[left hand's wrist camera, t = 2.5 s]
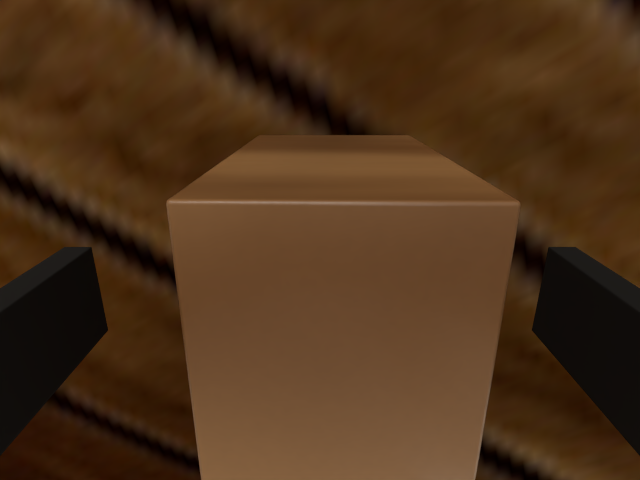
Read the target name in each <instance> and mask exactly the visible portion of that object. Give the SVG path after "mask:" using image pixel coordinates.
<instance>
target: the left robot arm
mask: <svg viewBox="0 0 640 480" xmlns="http://www.w3.org/2000/svg"><path fill="white" fill-rule="evenodd" d="M107 331H108V328H107V323H106V318H105V313H104V308H103V303H102V298H101V293H100V288H99V283H98V278H97V273H96V268H95V263H94V258H93V253H92V248H91V247H64V248H63V249H61V250H59V251H58V252H56V253H55V254H53V255H52V256H50V257H49V258H47V259H45V260H44V261H42V262H41V263H39V264H38V265H36V266H35V267H33V268H31V269H30V270H28V271H27V272H25V273H24V274H22V275H21V276H19V277H17V278H16V279H14V280H13V281H11V282H10V283H8V284H6V285H5V286H3V287H2V288H0V455H1V454H2V453H3V452H4V451H5V450H6V448H7V447H8V446H9V445H10V444H11V443H12V441H13V440H14V439H15V438H16V437H17V436H18V434H19V433H20V432H21V431H22V430H23V429H24V427H25V426H26V425H27V424H28V423H29V422H30V420H31V419H32V418H33V417H34V416H35V415H36V413H37V412H38V411H39V410H40V409H41V408H42V406H43V405H44V404H45V403H46V402H47V401H48V399H49V398H50V397H51V396H52V395H53V394H54V392H55V391H56V390H57V389H58V388H59V387H60V386H61V384H62V383H63V382H64V381H65V380H66V379H67V377H68V376H69V375H70V374H71V373H72V372H73V370H74V369H75V368H76V367H77V366H78V365H79V363H80V362H81V361H82V360H83V359H84V358H85V356H86V355H87V354H88V353H89V352H90V351H91V349H92V348H93V347H94V346H95V345H96V344H97V342H98V341H99V340H100V339H101V338H102V337H103V335H104V334H105V333H106V332H107ZM532 331H533V332H534V333H535V334H536V335H537V337H538V338H539V339H540V340H541V341H542V342H543V344H544V345H545V346H546V347H547V348H548V349H549V351H550V352H551V353H552V354H553V355H554V356H555V358H556V359H557V360H558V361H559V362H560V363H561V365H562V366H563V367H564V368H565V369H566V370H567V372H568V373H569V374H570V375H571V376H572V377H573V379H574V380H575V381H576V382H577V383H578V384H579V386H580V387H581V388H582V389H583V390H584V391H585V392H586V394H587V395H588V396H589V397H590V398H591V399H592V401H593V402H594V403H595V404H596V405H597V406H598V408H599V409H600V410H601V411H602V412H603V413H604V415H605V416H606V417H607V418H608V419H609V420H610V422H611V423H612V424H613V425H614V426H615V427H616V429H617V430H618V431H619V432H620V433H621V434H622V436H623V437H624V438H625V439H626V440H627V441H628V443H629V444H630V445H631V446H632V447H633V448H634V450H635V451H636V452H637V453H638V454H639V455H640V288H638V287H637V286H635V285H634V284H632V283H630V282H629V281H627V280H626V279H624V278H623V277H621V276H619V275H618V274H616V273H615V272H613V271H612V270H610V269H609V268H607V267H605V266H604V265H602V264H601V263H599V262H598V261H596V260H595V259H593V258H591V257H590V256H588V255H587V254H585V253H584V252H582V251H581V250H579V249H577V248H576V247H549V248H548V253H547V258H546V263H545V268H544V273H543V278H542V283H541V288H540V293H539V298H538V303H537V308H536V313H535V318H534V323H533V328H532Z"/></svg>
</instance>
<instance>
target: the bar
mask: <svg viewBox="0 0 640 480" xmlns="http://www.w3.org/2000/svg"><path fill="white" fill-rule="evenodd" d="M166 206H167V214H168V222H169V230H170V238H171V246H172V253H173V261H174V269H175V277H176V285H177V293H178V301H179V308H180V316H181V324H182V332H183V340H184V348H185V356H186V363H187V371H188V379H189V387H190V395H191V403H192V411H193V418H194V426H195V434H196V442H197V450H198V458H199V466H200V473H201V480H475V478H476V472H477V466H478V460H479V454H480V448H481V442H482V436H483V430H484V424H485V418H486V412H487V406H488V400H489V394H490V388H491V382H492V376H493V370H494V364H495V358H496V352H497V346H498V340H499V334H500V328H501V322H502V316H503V310H504V304H505V298H506V292H507V286H508V280H509V274H510V268H511V262H512V256H513V250H514V244H515V238H516V232H517V226H518V220H519V214H520V208H521V205H520V202H519V201H518V200H516V199H514V198H513V197H511V196H509V195H508V194H506V193H504V192H503V191H501V190H499V189H498V188H496V187H494V186H493V185H491V184H489V183H488V182H486V181H484V180H483V179H481V178H479V177H478V176H476V175H474V174H473V173H471V172H469V171H468V170H466V169H464V168H463V167H461V166H459V165H458V164H456V163H454V162H453V161H451V160H449V159H448V158H446V157H444V156H443V155H441V154H439V153H438V152H436V151H434V150H433V149H431V148H429V147H428V146H426V145H424V144H423V143H421V142H419V141H418V140H416V139H414V138H413V137H411V136H409V135H259V136H257V137H256V138H254V139H253V140H252V141H250V142H249V143H247V144H246V145H245V146H243V147H242V148H240V149H239V150H237V151H236V152H235V153H233V154H232V155H230V156H229V157H228V158H226V159H225V160H223V161H222V162H220V163H219V164H218V165H216V166H215V167H213V168H212V169H211V170H209V171H208V172H206V173H205V174H203V175H202V176H201V177H199V178H198V179H196V180H195V181H194V182H192V183H191V184H189V185H188V186H187V187H185V188H184V189H182V190H181V191H179V192H178V193H177V194H175V195H174V196H172V197H171V198H170V199H168V200H167V203H166Z"/></svg>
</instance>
